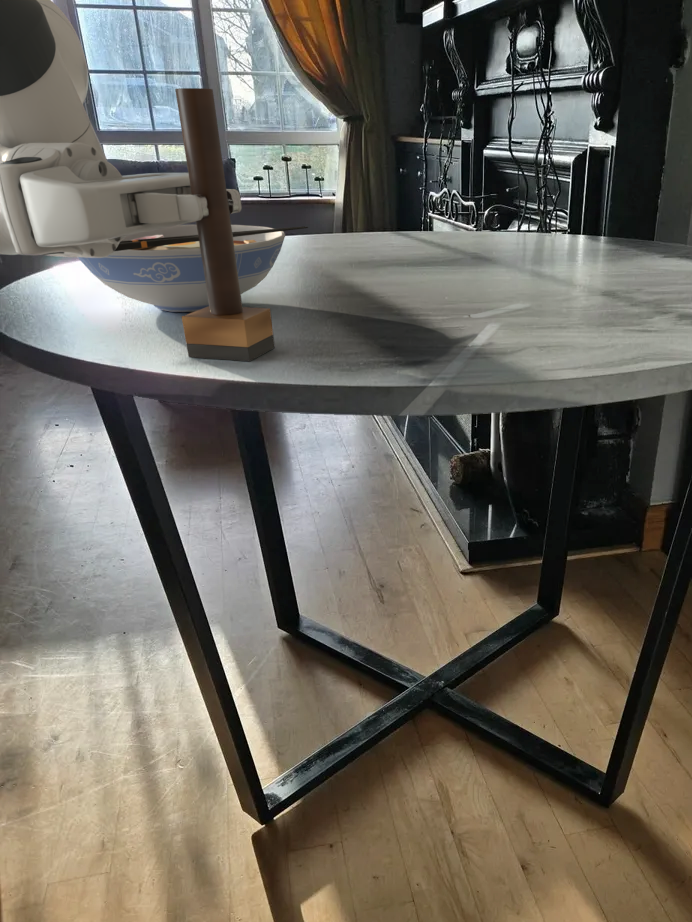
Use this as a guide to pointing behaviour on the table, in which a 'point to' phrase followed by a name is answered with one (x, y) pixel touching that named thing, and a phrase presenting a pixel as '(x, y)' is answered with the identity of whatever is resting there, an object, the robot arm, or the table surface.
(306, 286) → the table surface
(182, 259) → the ramen bowl
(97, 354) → the table surface
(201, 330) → the brush
